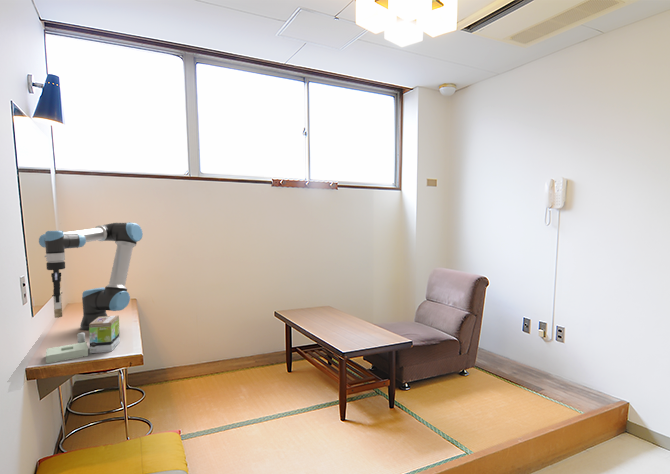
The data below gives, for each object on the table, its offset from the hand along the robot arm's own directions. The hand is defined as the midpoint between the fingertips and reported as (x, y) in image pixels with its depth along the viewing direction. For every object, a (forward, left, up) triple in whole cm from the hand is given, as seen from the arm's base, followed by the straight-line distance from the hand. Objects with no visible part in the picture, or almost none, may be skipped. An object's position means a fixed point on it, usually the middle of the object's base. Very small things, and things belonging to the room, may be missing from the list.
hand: (58, 307), depth 192 cm
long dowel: (0, 0, -5) cm, 5 cm away
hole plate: (-3, +15, -21) cm, 26 cm away
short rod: (-9, +4, -21) cm, 23 cm away
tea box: (-19, +13, -21) cm, 31 cm away
